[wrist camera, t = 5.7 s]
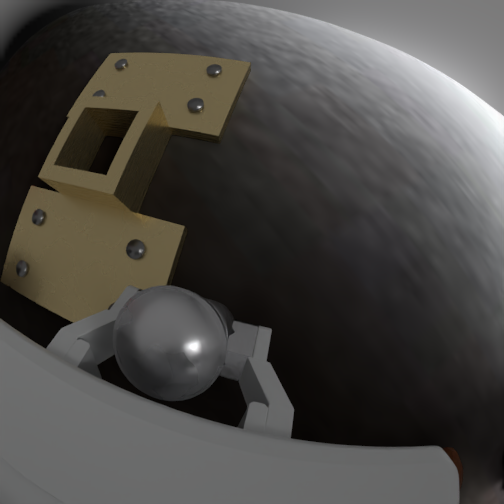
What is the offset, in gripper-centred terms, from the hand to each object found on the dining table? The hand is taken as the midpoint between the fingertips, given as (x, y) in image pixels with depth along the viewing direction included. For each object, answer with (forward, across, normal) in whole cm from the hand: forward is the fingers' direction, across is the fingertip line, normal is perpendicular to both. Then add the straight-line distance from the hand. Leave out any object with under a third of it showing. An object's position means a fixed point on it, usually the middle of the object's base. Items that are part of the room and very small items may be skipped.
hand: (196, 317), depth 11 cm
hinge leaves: (+10, +10, -1) cm, 14 cm away
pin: (+4, 0, +5) cm, 6 cm away
